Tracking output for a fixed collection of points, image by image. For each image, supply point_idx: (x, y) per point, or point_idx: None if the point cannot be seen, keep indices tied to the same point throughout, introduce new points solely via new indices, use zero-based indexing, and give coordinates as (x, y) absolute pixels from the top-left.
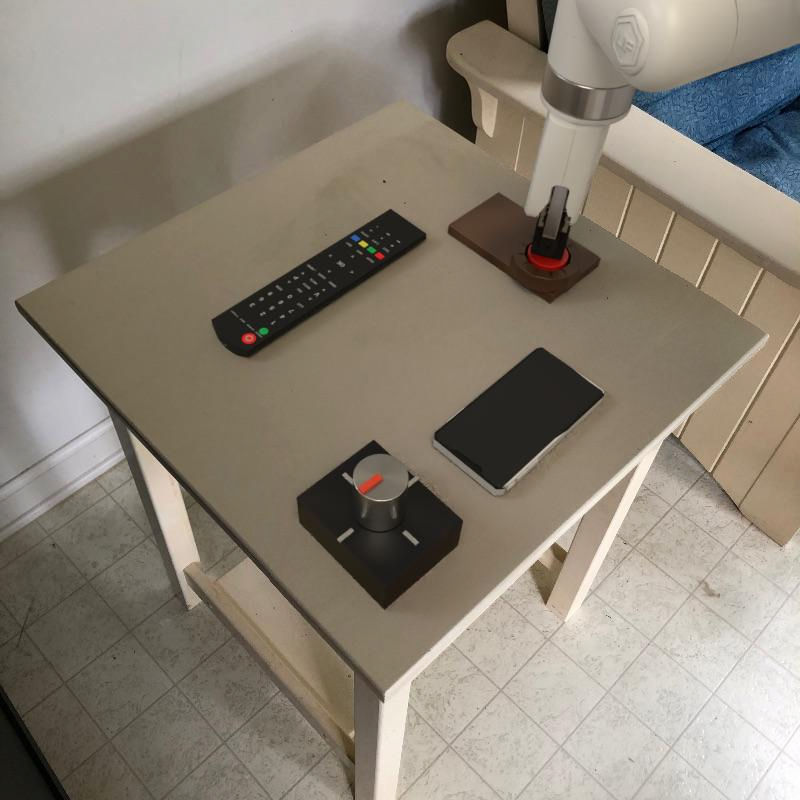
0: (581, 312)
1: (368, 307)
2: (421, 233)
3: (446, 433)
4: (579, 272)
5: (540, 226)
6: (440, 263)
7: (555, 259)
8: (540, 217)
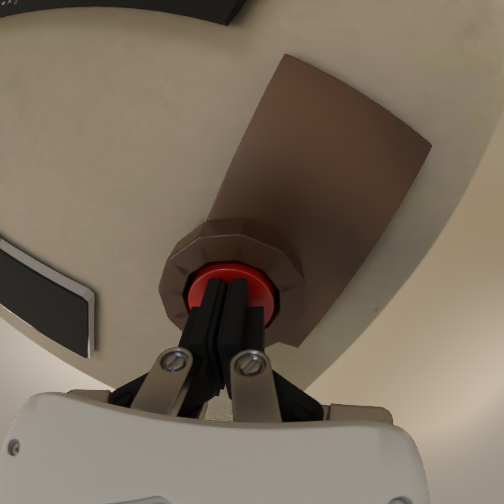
0: None
1: (53, 45)
2: (221, 12)
3: None
4: None
5: (163, 357)
6: (184, 78)
7: None
8: (144, 382)
